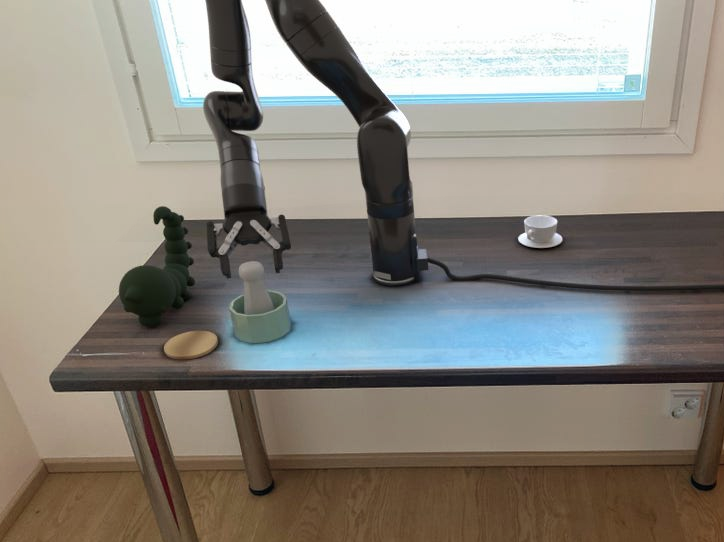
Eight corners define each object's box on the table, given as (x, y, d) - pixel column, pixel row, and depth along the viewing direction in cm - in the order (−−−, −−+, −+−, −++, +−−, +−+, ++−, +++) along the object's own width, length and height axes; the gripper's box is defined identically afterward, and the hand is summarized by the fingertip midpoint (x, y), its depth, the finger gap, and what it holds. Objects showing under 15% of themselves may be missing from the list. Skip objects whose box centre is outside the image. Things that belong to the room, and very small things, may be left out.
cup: (292, 314, 140) (288, 288, 137) (288, 340, 132) (283, 313, 129) (239, 318, 139) (233, 292, 136) (232, 345, 131) (225, 318, 128)
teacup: (533, 229, 173) (533, 210, 171) (570, 238, 168) (571, 218, 166) (509, 243, 167) (509, 223, 164) (547, 253, 162) (548, 233, 159)
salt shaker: (286, 325, 136) (274, 260, 130) (266, 339, 132) (252, 273, 125) (260, 319, 139) (248, 255, 132) (240, 333, 134) (225, 268, 127)
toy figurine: (168, 289, 154) (110, 341, 131) (148, 199, 145) (82, 238, 123) (213, 289, 153) (162, 341, 131) (195, 199, 145) (138, 238, 122)
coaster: (221, 331, 135) (221, 328, 135) (213, 357, 127) (212, 354, 127) (170, 335, 134) (169, 332, 134) (159, 361, 126) (158, 358, 126)
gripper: (198, 185, 131) (207, 271, 127) (280, 178, 133) (292, 262, 130) (206, 204, 138) (215, 286, 134) (284, 196, 140) (295, 277, 137)
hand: (253, 274), depth 132 cm, fingers open, 8 cm apart
